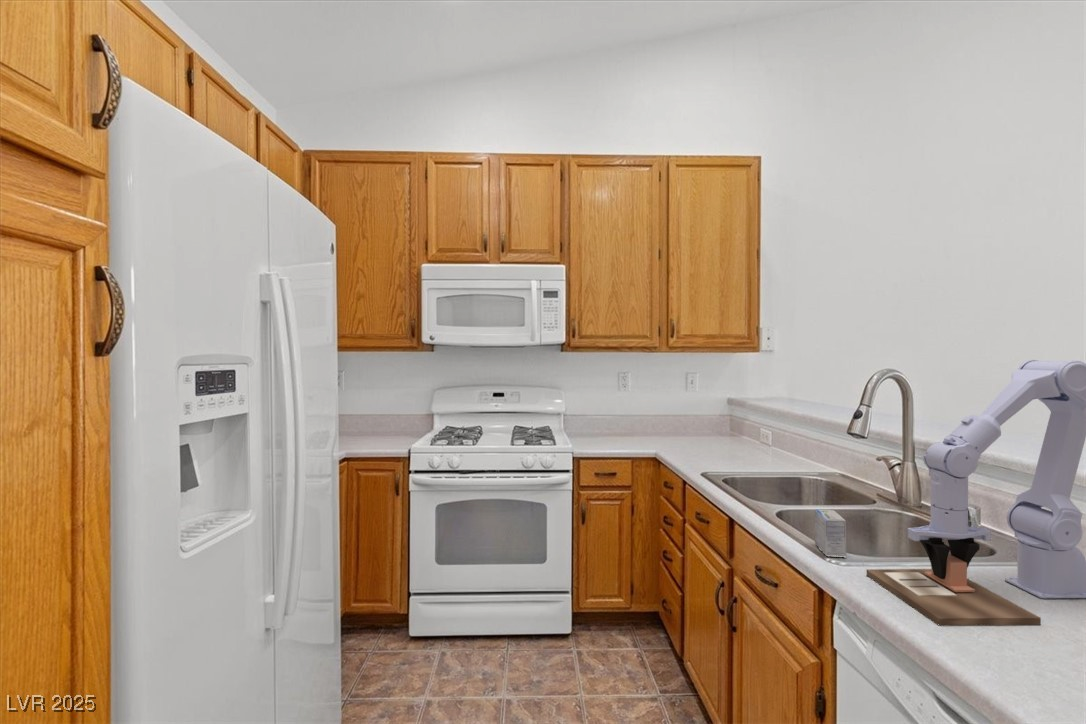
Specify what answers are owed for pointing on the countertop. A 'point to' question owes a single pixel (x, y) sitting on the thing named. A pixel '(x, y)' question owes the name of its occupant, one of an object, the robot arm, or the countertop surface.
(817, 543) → the medicine box
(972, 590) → the salmon block with base
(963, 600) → the ticket board
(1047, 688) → the countertop surface
